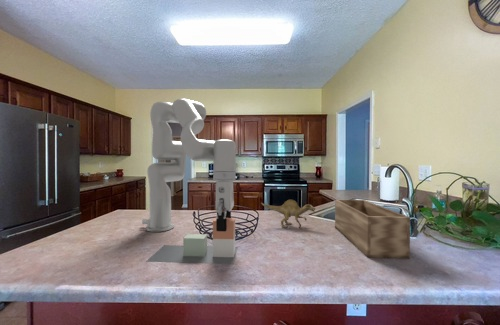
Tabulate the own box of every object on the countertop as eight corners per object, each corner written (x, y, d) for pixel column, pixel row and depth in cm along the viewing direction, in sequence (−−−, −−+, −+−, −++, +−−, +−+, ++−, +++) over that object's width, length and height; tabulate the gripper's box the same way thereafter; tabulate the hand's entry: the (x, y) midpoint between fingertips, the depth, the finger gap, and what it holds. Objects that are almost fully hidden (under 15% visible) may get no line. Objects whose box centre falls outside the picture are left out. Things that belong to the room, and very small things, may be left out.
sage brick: (183, 255, 72) (183, 238, 72) (187, 250, 76) (187, 234, 76) (203, 256, 72) (203, 238, 72) (206, 251, 76) (207, 234, 76)
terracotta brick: (212, 238, 72) (212, 220, 71) (215, 234, 76) (215, 217, 75) (233, 239, 71) (233, 221, 71) (235, 235, 75) (235, 218, 75)
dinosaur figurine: (315, 229, 102) (315, 202, 102) (260, 226, 107) (260, 199, 107) (313, 225, 110) (313, 199, 110) (262, 222, 115) (262, 197, 114)
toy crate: (367, 257, 73) (367, 216, 73) (335, 227, 105) (335, 199, 105) (409, 258, 73) (410, 217, 72) (364, 228, 105) (364, 200, 104)
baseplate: (145, 263, 68) (145, 261, 68) (164, 247, 81) (164, 245, 81) (233, 266, 67) (233, 264, 67) (237, 249, 80) (237, 247, 80)
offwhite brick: (212, 256, 72) (212, 238, 71) (215, 251, 76) (215, 234, 75) (233, 257, 71) (233, 239, 71) (235, 252, 75) (235, 235, 75)
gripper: (232, 178, 64) (231, 235, 64) (238, 174, 81) (237, 219, 82) (207, 178, 65) (206, 234, 65) (218, 174, 82) (218, 218, 82)
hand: (224, 226), depth 73 cm, fingers open, 9 cm apart
